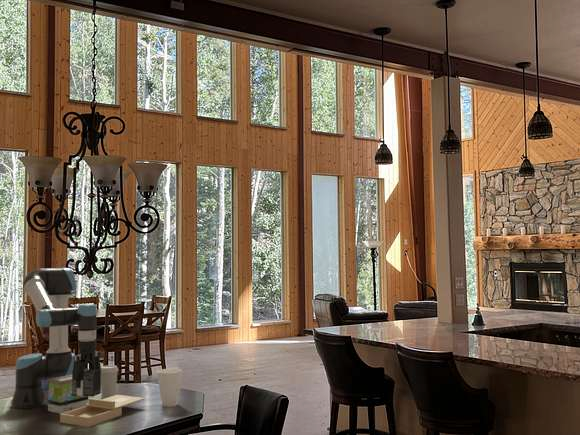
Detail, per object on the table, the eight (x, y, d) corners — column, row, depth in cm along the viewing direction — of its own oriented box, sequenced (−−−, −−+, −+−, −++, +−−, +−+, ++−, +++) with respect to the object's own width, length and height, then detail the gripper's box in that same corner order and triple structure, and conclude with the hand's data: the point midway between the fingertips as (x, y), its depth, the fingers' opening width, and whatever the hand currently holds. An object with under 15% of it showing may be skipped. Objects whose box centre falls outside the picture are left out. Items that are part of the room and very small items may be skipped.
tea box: (61, 414, 276) (62, 380, 277) (47, 411, 281) (48, 378, 282) (89, 407, 289) (89, 375, 290) (74, 404, 294) (75, 373, 295)
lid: (85, 405, 276) (85, 398, 276) (117, 395, 295) (117, 389, 295) (114, 409, 269) (114, 402, 269) (144, 399, 287) (144, 392, 287)
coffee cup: (122, 396, 310) (122, 366, 311) (107, 400, 302) (107, 369, 303) (109, 394, 315) (109, 364, 316) (94, 397, 307) (94, 367, 308)
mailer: (60, 422, 263) (60, 414, 263) (94, 411, 281) (94, 403, 281) (88, 426, 256) (88, 418, 256) (121, 415, 273) (121, 407, 274)
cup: (168, 400, 299) (168, 367, 300) (187, 403, 293) (187, 369, 294) (151, 406, 289) (151, 371, 290) (171, 409, 283) (171, 374, 284)
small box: (101, 393, 268) (101, 368, 268) (93, 396, 262) (93, 371, 262) (79, 392, 270) (79, 368, 271) (71, 395, 264) (71, 371, 264)
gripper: (76, 343, 257) (75, 399, 255) (110, 337, 275) (109, 389, 273) (62, 342, 260) (62, 397, 259) (97, 336, 278) (97, 388, 277)
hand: (86, 393), depth 266 cm, fingers closed on small box, 7 cm apart
